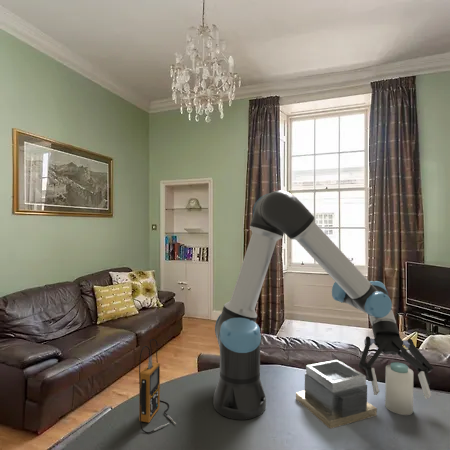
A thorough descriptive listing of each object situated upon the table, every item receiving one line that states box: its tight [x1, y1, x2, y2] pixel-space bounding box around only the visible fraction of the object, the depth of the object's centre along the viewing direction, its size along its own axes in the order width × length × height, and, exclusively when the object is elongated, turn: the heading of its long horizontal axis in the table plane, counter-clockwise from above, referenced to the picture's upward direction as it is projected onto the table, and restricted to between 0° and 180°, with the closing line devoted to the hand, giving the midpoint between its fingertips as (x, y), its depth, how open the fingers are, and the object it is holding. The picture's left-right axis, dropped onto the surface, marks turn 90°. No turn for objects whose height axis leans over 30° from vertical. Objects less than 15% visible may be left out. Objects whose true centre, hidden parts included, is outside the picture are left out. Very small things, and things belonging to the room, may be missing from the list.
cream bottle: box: [384, 361, 414, 416], centre depth 92 cm, size 7×7×12 cm
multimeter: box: [138, 338, 177, 434], centre depth 87 cm, size 15×10×20 cm
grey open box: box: [295, 359, 378, 430], centre depth 92 cm, size 15×16×10 cm
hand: (402, 395), depth 90 cm, fingers open, 13 cm apart
